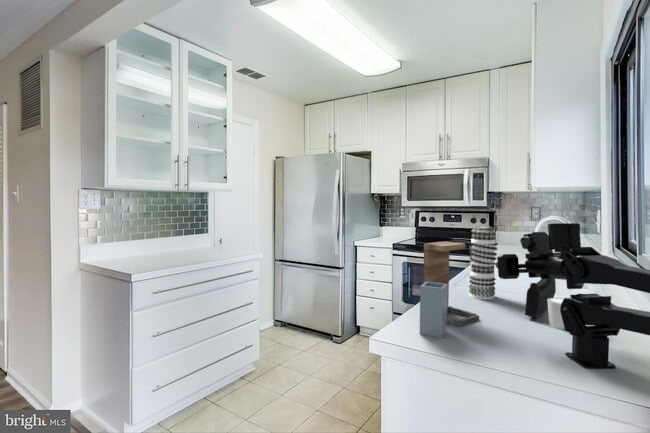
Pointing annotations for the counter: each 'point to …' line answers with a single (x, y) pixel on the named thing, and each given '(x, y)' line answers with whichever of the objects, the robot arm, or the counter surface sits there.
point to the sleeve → (433, 309)
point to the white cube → (555, 312)
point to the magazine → (539, 297)
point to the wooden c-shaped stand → (444, 274)
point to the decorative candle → (482, 262)
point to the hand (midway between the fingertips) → (510, 264)
